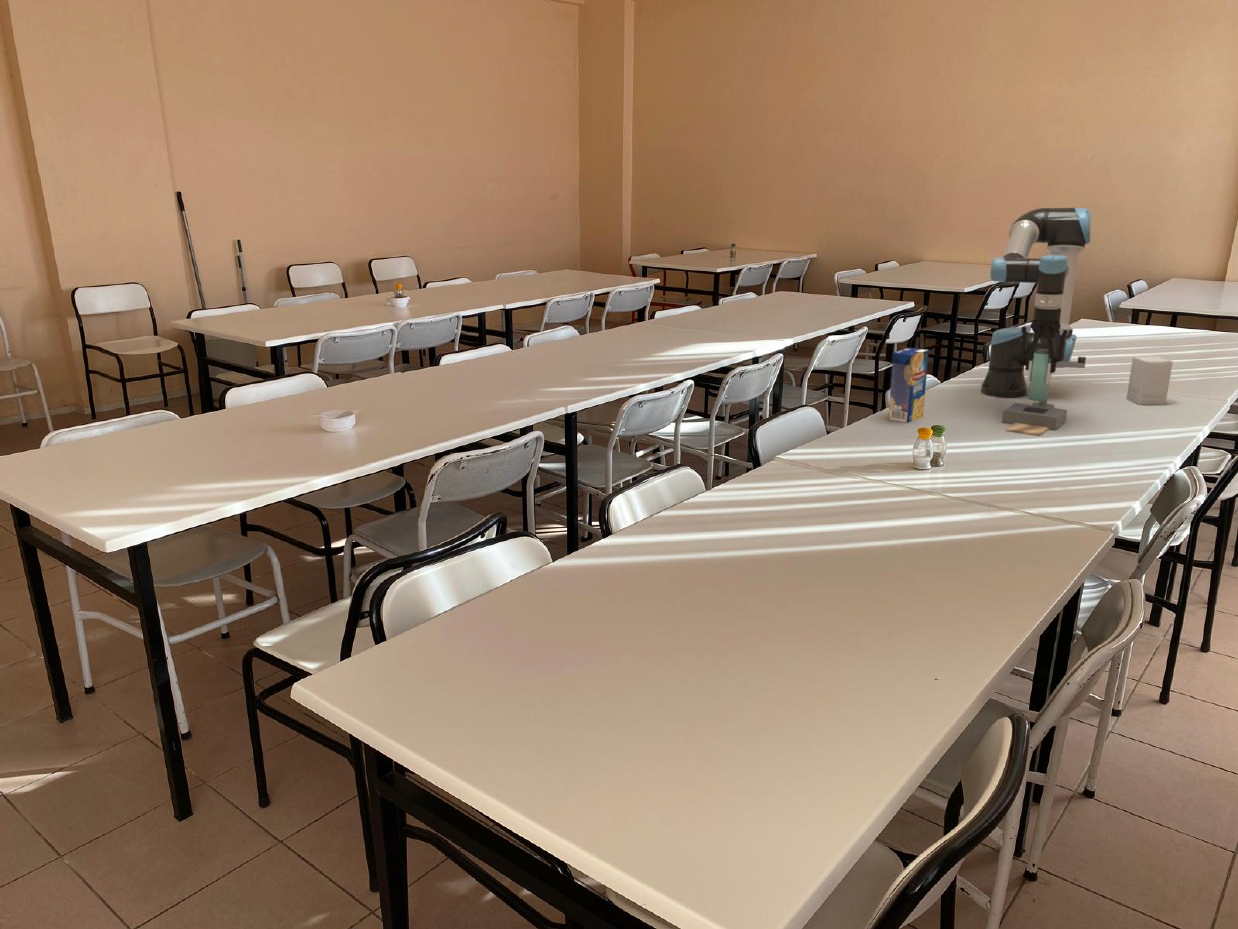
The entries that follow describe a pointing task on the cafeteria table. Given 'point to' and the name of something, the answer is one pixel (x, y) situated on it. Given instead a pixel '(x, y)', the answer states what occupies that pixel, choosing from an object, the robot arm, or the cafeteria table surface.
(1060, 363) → the clip
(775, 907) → the cafeteria table surface
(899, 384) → the blue food box
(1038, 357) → the plug
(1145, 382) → the supplement box
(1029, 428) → the cork mat
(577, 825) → the cafeteria table surface
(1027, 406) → the socket block
